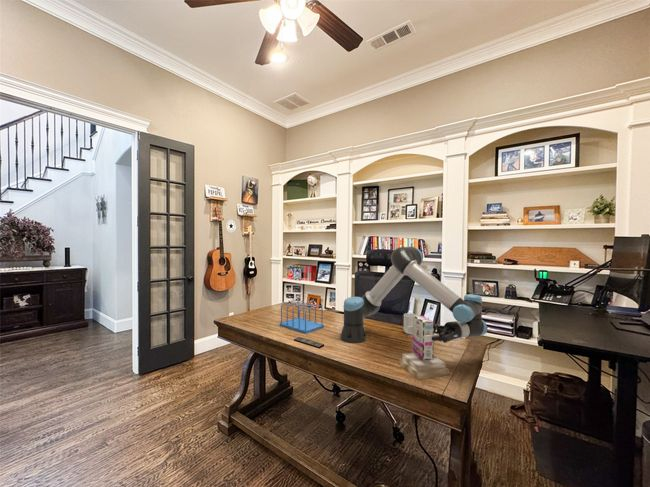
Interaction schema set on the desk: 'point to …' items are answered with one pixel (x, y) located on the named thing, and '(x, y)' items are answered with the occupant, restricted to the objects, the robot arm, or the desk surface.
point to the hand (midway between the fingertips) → (415, 334)
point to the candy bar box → (419, 330)
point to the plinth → (423, 374)
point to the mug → (408, 321)
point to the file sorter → (301, 320)
